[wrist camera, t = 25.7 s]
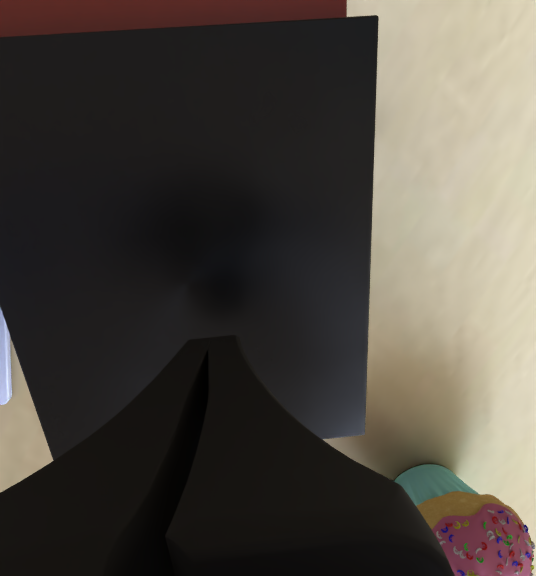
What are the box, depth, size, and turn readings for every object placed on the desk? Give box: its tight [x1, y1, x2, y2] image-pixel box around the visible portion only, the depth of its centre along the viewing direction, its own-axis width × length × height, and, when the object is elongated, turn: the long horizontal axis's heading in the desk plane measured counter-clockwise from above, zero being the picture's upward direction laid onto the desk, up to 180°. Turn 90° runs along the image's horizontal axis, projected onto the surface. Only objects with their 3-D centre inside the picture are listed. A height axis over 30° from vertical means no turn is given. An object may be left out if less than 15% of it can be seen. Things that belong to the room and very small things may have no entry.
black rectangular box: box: [0, 15, 378, 460], centre depth 16 cm, size 14×12×8 cm
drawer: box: [0, 0, 347, 37], centre depth 14 cm, size 17×10×6 cm, turn 4°
